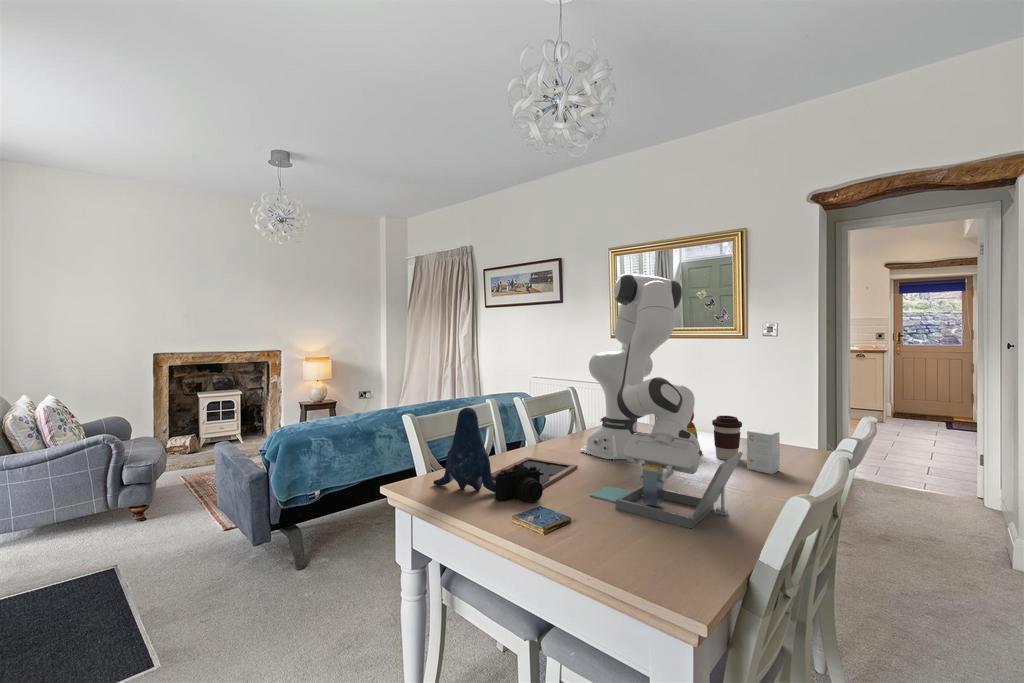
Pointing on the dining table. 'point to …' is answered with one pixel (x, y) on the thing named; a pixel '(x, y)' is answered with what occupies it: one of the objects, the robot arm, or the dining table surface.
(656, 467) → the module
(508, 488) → the film camera
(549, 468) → the picture frame
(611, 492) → the pad
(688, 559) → the dining table surface
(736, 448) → the coffee cup
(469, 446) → the dark blue plush toy
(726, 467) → the case
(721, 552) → the dining table surface
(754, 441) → the small box
